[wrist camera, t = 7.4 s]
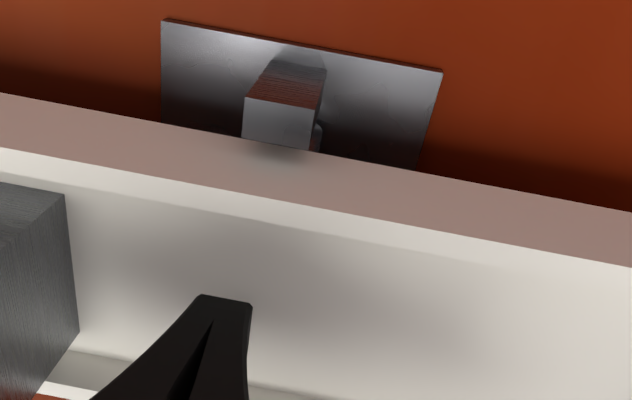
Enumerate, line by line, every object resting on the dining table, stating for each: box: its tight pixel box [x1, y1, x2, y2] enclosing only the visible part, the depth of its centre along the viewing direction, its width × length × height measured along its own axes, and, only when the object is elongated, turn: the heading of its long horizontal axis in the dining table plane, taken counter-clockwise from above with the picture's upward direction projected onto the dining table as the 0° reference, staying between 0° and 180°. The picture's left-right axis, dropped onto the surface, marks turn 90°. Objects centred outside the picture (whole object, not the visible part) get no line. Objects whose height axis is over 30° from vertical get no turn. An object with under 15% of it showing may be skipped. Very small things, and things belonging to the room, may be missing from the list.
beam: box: [0, 92, 632, 400], centre depth 14 cm, size 28×8×3 cm, turn 81°
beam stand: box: [161, 18, 443, 171], centre depth 15 cm, size 8×12×4 cm, turn 171°
